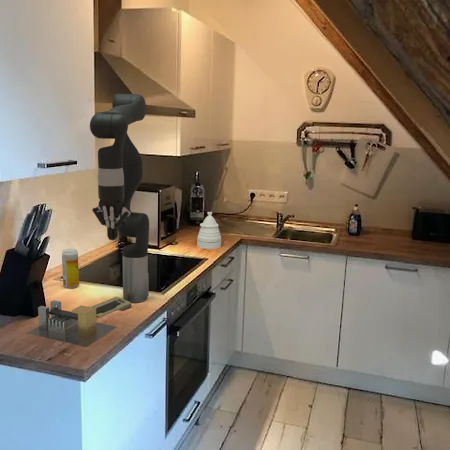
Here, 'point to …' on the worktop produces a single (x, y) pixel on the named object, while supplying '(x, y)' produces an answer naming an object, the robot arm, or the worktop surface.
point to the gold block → (86, 320)
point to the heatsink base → (65, 327)
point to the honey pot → (209, 234)
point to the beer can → (70, 268)
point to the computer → (111, 306)
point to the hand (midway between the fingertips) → (112, 239)
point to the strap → (63, 313)
